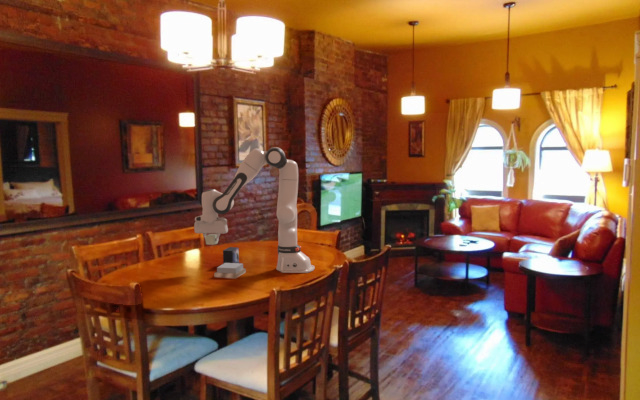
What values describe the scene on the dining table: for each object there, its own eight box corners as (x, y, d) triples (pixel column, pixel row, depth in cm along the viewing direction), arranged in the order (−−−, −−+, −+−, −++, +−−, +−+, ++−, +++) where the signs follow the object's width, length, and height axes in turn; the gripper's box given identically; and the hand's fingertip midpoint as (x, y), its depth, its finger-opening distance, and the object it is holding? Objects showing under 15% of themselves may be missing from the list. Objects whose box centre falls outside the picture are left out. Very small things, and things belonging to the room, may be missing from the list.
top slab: (243, 268, 263) (243, 263, 262) (235, 273, 252) (235, 268, 252) (225, 267, 265) (225, 262, 265) (217, 272, 254) (217, 267, 254)
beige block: (218, 242, 267) (217, 234, 267) (213, 244, 263) (213, 236, 262) (210, 242, 269) (209, 234, 268) (206, 244, 264) (205, 235, 263)
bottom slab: (245, 273, 263) (245, 268, 263) (235, 279, 251) (235, 274, 251) (225, 272, 267) (225, 267, 267) (214, 278, 255) (214, 272, 254)
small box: (233, 267, 274) (232, 250, 273) (222, 267, 275) (222, 250, 274) (239, 263, 284) (239, 247, 283) (229, 263, 285) (229, 246, 284)
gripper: (229, 216, 264) (230, 240, 266) (197, 216, 270) (199, 239, 271) (224, 218, 258) (225, 242, 260) (192, 218, 264) (193, 241, 265)
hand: (211, 240), depth 266 cm, fingers closed on beige block, 5 cm apart
